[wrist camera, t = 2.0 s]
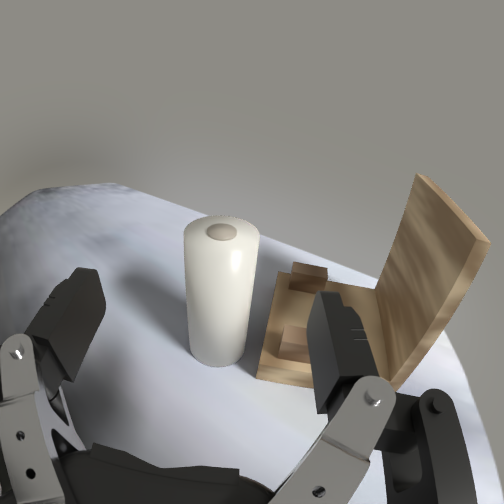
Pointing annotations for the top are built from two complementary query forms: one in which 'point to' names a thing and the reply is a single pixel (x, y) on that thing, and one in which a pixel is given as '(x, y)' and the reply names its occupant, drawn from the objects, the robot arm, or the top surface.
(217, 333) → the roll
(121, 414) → the top surface
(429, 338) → the holder
